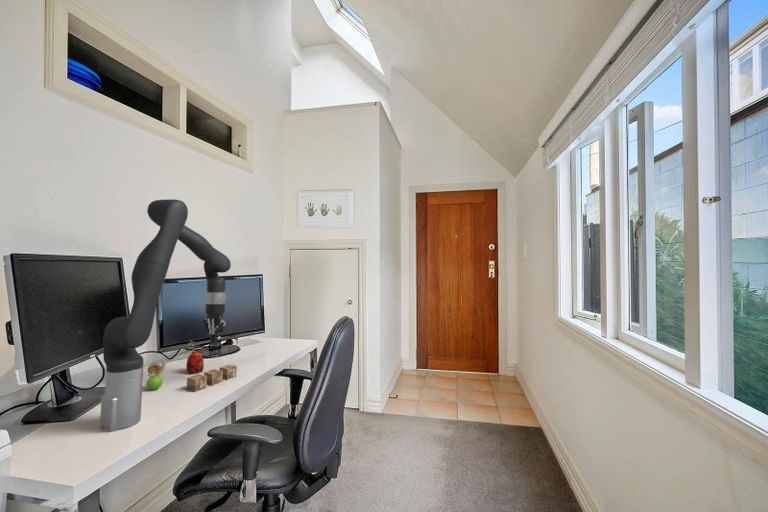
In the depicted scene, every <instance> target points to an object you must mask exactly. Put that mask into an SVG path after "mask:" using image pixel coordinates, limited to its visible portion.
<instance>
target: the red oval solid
mask: <svg viewBox="0 0 768 512" xmlns="http://www.w3.org/2000/svg"><path fill="white" fill-rule="evenodd" d="M189 341H190V343H187V345H188V346H191V349H192V352H191V354H190V355H189V356H188V358H187V359H186V360H187V361H186V366H185V367H186V372H187V373H188V374H192V375H194V374H195V375H196V374H198V373H201V372H203V371H204V367H205V363H204V359H203V356H202V354H201V353H200V351H198V352H197V351H196V352H195V350H194V349H195V348H194V345H193V343H194V341H192V340H191V339H189Z"/></svg>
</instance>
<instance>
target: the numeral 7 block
mask: <svg viewBox="0 0 768 512" xmlns="http://www.w3.org/2000/svg"><path fill="white" fill-rule="evenodd" d="M218 370H221V371H223V376H222V380H223V379H225V380H224V381H229V380H228V379H230V380H232V379H234V378H233V377H235V378H237V377H236V376H237V374H238V373H237V372H238V371H237V370H238V366H237V365H233V364H227V365H223V366H219V369H218ZM231 378H232V379H231Z"/></svg>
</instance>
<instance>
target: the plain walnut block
mask: <svg viewBox="0 0 768 512" xmlns="http://www.w3.org/2000/svg"><path fill="white" fill-rule="evenodd" d="M203 375H205V376H207V386H210V385H211V386H210V387H213V386H216V385H219V384H221V383H220V382H222V383H223V379H222V376H223V371H221V370H219V369H216V368H214V369H211V370H208V371H204V372H203ZM218 383H219V384H218ZM215 384H216V385H215Z"/></svg>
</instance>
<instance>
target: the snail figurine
mask: <svg viewBox="0 0 768 512" xmlns="http://www.w3.org/2000/svg"><path fill="white" fill-rule="evenodd" d="M164 359H165V360H163V361H162V362H161V363H162V364H160V363H157V362H155V363H151V364H150V365H149V366H148V367H147V376H148V377H149V378H148V379H147V380H146V384H145V385H146V388H147V389H148V390H151V391H155V390H158V389H159V388H160V387H162V386H163V382H164V380H163V377H162V376H161V374H162V373H163V372H164V370H165V367H166V364H167V361H166V360H167V357H164Z"/></svg>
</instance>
